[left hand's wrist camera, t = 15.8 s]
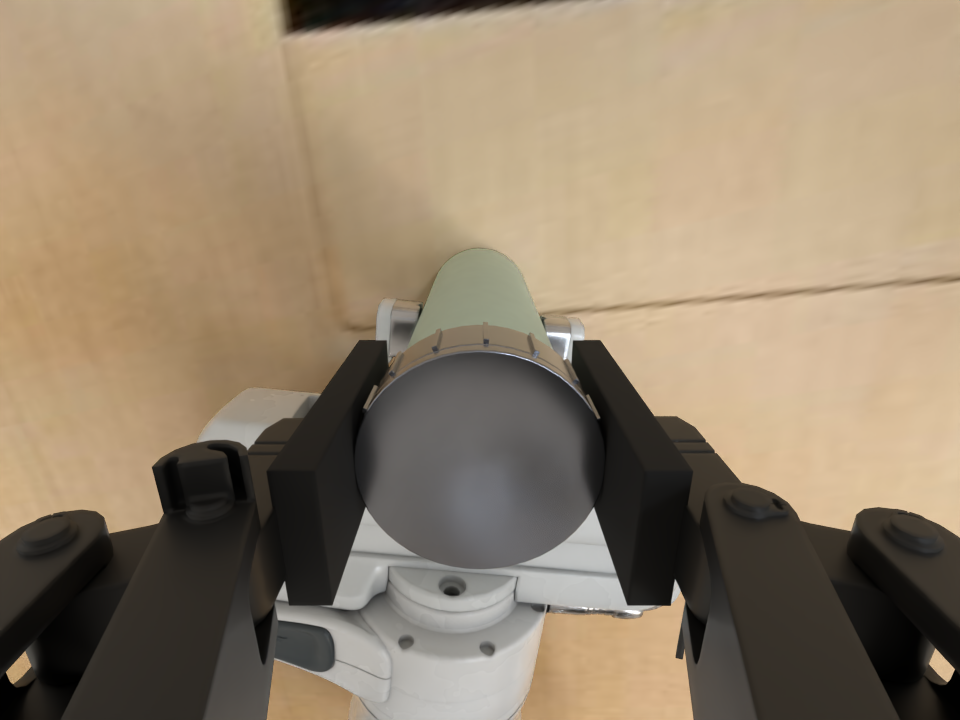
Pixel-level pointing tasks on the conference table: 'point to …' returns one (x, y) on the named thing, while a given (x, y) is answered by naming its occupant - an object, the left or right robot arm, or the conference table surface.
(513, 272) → the bottle
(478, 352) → the lid
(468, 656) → the right robot arm
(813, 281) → the conference table surface
